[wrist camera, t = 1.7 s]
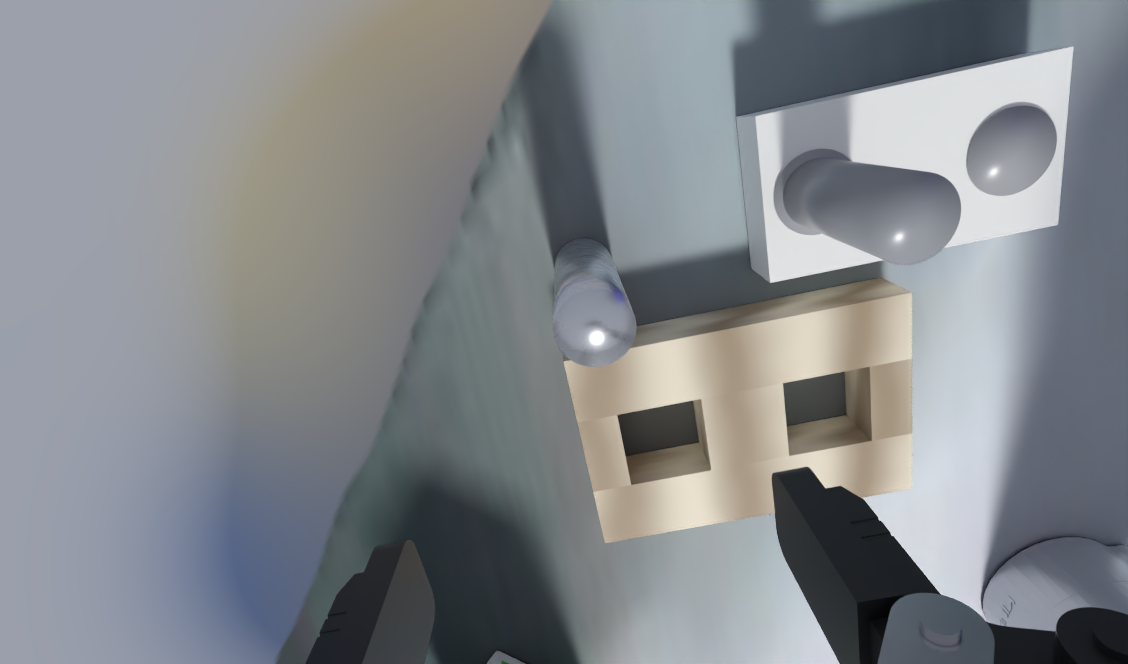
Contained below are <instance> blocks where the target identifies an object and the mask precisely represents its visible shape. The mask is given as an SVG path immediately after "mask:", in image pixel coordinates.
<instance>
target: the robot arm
mask: <svg viewBox="0 0 1128 664" xmlns="http://www.w3.org/2000/svg"><path fill="white" fill-rule="evenodd" d="M772 489H773V499H774V509H775V519H776V528H777V535H778V539H779V543H780V546H781V549H782V552H783V555H784V557H785V560H786V562H787V564H788V566H789V567H790V569H791V571H792V573H793V575H794V577H795V579H796V581H797V583H798V585H799V587H800V588H801V590H802V592H803V594H804V596H805V598H806V600H807V602H808V604H809V606H810V608H811V609H812V611H813V613H814V615H815V617H816V619H817V621H818V623H819V625H820V627H821V629H822V630H823V632H824V634H825V636H826V638H827V640H828V642H829V644H830V646H831V648H832V650H833V651H834V653H835V655H836V657H837V659H838V661H839V663H840V664H1128V548H1127V547H1126V546H1125V545H1118V546H1106V545H1103V544H1101V543H1099V542H1096V541H1094V540H1091V539H1086V538H1081V537H1064V538H1057V539H1051V540H1048V541H1044V542H1041V543H1038V544H1035V545H1033V546H1031V547H1029V548H1027V549H1025V550H1023V551H1021V552H1019V553H1018V554H1016V555H1015V556H1014V557H1012V558H1011V559H1009V560H1008V561H1007V562H1006V563H1005V564H1004V565H1003V566H1002V567H1001V568H1000V569H998V571H997V572H996V573H995V575H994V576H993V577H992V579H991V580H990V582H989V584H988V586H987V588H986V591H985V594H984V599H983V612H984V615H985V618H986V620H987V622H986V621H985V620H984V619H983V618H982V617H981V616H980V615H979V614H978V613H977V612H976V611H974V610H973V609H972V608H970V607H969V606H967V605H965V604H963V603H962V602H960V601H957V600H955V599H953V598H950V597H947V596H943V595H941V594H940V593H939V592H938V591H937V589H936V588H935V587H934V586H933V585H932V583H931V582H930V581H929V580H928V578H927V577H926V576H925V575H924V573H923V572H922V571H921V570H920V568H919V567H918V566H917V565H916V564H915V562H914V561H913V560H912V559H911V557H910V556H909V555H908V554H907V552H906V551H905V550H904V549H903V548H902V546H901V545H900V544H899V543H898V541H897V540H896V539H895V538H894V536H891V534H890V532H889V530H888V529H887V528H886V527H885V525H884V524H883V523H882V522H881V521H879V520H878V517H877V516H876V514H875V513H874V512H873V511H872V509H871V508H870V507H869V506H868V504H867V503H866V502H865V501H864V500H863V499H862V498H860V497H859V496H857V495H855V494H854V493H852V492H850V491H849V490H847V489H845V488H844V487H842V486H836V487H831V488H826V489H825V487H824V486H823V485H822V483H821V482H820V481H819V479H818V478H817V476H816V475H815V474H814V472H813V471H812V470H811V469H810V468H809V467H802V468H797V469H791V470H786V471H781V472H775V473H773V474H772ZM434 620H435V601H434V595H433V592H432V589H431V586H430V583H429V581H428V578H427V575H426V573H425V570H424V567H423V565H422V562H421V559H420V557H419V554H418V552H417V549H416V546H415V544H414V543H413V542H412V541H411V540H405V541H400V542H395V543H389V544H384V545H379V546H376V547H375V548H374V550H373V552H372V554H371V557H370V559H369V562H368V564H367V566H366V569H365V571H364V572H363V573H358V574H354V575H353V577H352V578H351V579H350V580H349V581H348V582H347V583H346V585H345V586H344V587H343V588H342V589H341V590H340V592H339V593H338V594H337V596H336V598H335V600H334V602H333V605H332V607H331V609H330V611H329V613H328V619H326V620H325V622H324V624H323V626H322V629H321V631H320V637H317V640H316V642H315V644H314V646H313V648H312V650H311V653H310V655H309V657H308V659H307V661H306V664H424V662H425V658H426V654H427V650H428V646H429V642H430V637H431V633H432V629H433V625H434Z"/></svg>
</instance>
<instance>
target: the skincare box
mask: <svg viewBox="0 0 1128 664" xmlns="http://www.w3.org/2000/svg"><path fill="white" fill-rule="evenodd" d="M486 664H525V663H523V662H521V661H519V660H517V659H515V658H512V657H510V656H509V655H507V654H505V653H502V652H500V651H496V652H495V653H494V654H493V656H492V657H491V658H490V660H489V661H488V662H487V663H486Z"/></svg>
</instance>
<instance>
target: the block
mask: <svg viewBox="0 0 1128 664" xmlns="http://www.w3.org/2000/svg"><path fill="white" fill-rule="evenodd" d="M1073 47H1074V46H1072V47H1066V48H1059V49H1052V50H1045V51H1038V52H1031V53H1024V54H1019V55H1014V56H1010V57H1005V58H1001V59H996V60H992V61H987V62H983V63H978V64H973V65H969V66H964V67H960V68H955V69H951V70H946V71H942V72H937V73H933V74H928V75H923V76H919V77H914V78H910V79H905V80H901V81H896V82H892V83H887V84H883V85H878V86H874V87H869V88H864V89H860V90H855V91H851V92H846V93H842V94H837V95H833V96H828V97H824V98H819V99H814V100H810V101H805V102H801V103H796V104H792V105H787V106H783V107H778V108H774V109H769V110H764V111H760V112H755V113H751V114H746V115H742V116H737V117H736V121H737V131H738V141H739V151H740V161H741V171H742V181H743V191H744V201H745V211H746V221H747V231H748V241H749V251H750V261H751V269H752V270H754V271H755V272H756V273H758V274H759V275H760V276H762V277H763V278H764V279H766V280H767V281H768V282H769V283H773V282H778V281H783V280H788V279H793V278H798V277H803V276H808V275H813V274H818V273H823V272H828V271H832V270H837V269H842V268H847V267H852V266H857V265H862V264H867V263H872V262H877V261H882V260H885V261H887V262H890V263H893V264H897V265H912V264H917V263H920V262H923V261H925V260H927V259H929V258H931V257H933V256H934V255H936V254H937V253H938V252H940V251H941V250H942V249H943V248H946V247H951V246H956V245H961V244H966V243H971V242H976V241H981V240H986V239H991V238H996V237H1001V236H1006V235H1011V234H1016V233H1021V232H1026V231H1031V230H1036V229H1041V228H1045V227H1050V226H1055V225H1058V219H1059V208H1060V196H1061V185H1062V173H1063V162H1064V150H1065V139H1066V127H1067V116H1068V104H1069V93H1070V81H1071V70H1072V58H1073Z"/></svg>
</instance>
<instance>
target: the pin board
mask: <svg viewBox="0 0 1128 664" xmlns="http://www.w3.org/2000/svg"><path fill="white" fill-rule="evenodd" d="M563 356H564V365H565V370H566V374H567V378H568V383H569V387H570V392H571V396H572V400H573V405H574V409H575V413H576V418H577V422H578V427H579V431H580V435H581V440H582V444H583V448H584V453H585V457H586V462H587V466H588V470H589V475H590V479H591V484H592V488H593V492H594V497H595V501H596V505H597V510H598V514H599V519H600V523H601V527H602V532H603V536H604V540H605V543H609V542H615V541H620V540H626V539H632V538H637V537H643V536H648V535H654V534H660V533H665V532H671V531H677V530H682V529H688V528H693V527H699V526H705V525H710V524H716V523H722V522H727V521H733V520H738V519H744V518H750V517H755V516H761V515H767V514H772V513H775V509H774V499H773V489H772V474H773V473H775V472H781V471H786V470H791V469H797V468H802V467H809V468H810V469H811V470H812V471H813V472H814V474H815V475H816V476H817V478H818V479H819V481H820V482H821V483H822V485H823V486H824V487H825V489H826V488H831V487H836V486H842V487H844V488H845V489H847V490H849V491H850V492H852V493H854V494H855V495H857V496H859V497H860V498H862V497H868V496H873V495H879V494H885V493H890V492H896V491H902V490H907V489H912V292H910V291H908V290H906V289H904V288H901V287H899V286H897V285H895V284H893V283H891V282H889V281H887V280H885V279H883V278H876V279H871V280H866V281H861V282H856V283H851V284H846V285H841V286H836V287H831V288H826V289H821V290H816V291H811V292H806V293H801V294H796V295H791V296H786V297H781V298H776V299H771V300H766V301H761V302H756V303H751V304H746V305H741V306H736V307H731V308H726V309H721V310H716V311H711V312H706V313H701V314H696V315H691V316H686V317H681V318H676V319H671V320H666V321H661V322H656V323H651V324H646V325H641V326H637V328H636V336H635V339H634V342H633V344H632V346H631V347H630V349H629V350H628V352H627V353H626V354H625V355H624V356H623V357H622V358H620V359H619V360H617V361H615V362H614V363H611V364H609V365H605V366H601V367H587V366H583V365H580V364H577V363H575V362H573V361H571V360H570V359H568V358H567V357H566V356H565V355H564V354H563ZM839 372H845V392H846V414H847V415H844V416H839V417H833V418H828V419H823V420H817V421H812V422H807V423H801V424H796V425H790V426H787V425H786V413H785V402H784V390H783V383H787V382H792V381H798V380H803V379H808V378H813V377H819V376H824V375H829V374H834V373H839ZM688 401H693V405H694V412H695V419H696V425H697V432H698V439H699V443H694V444H689V445H683V446H678V447H673V448H667V449H662V450H657V451H651V452H646V453H640V454H635V455H630V456H625V451H624V446H623V441H622V436H621V431H620V426H619V421H618V416H617V415H620V414H625V413H630V412H635V411H641V410H646V409H651V408H656V407H662V406H667V405H672V404H677V403H683V402H688Z"/></svg>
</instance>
